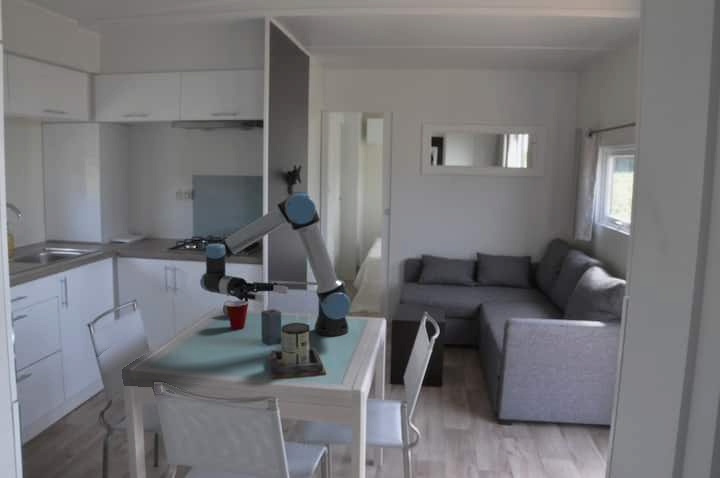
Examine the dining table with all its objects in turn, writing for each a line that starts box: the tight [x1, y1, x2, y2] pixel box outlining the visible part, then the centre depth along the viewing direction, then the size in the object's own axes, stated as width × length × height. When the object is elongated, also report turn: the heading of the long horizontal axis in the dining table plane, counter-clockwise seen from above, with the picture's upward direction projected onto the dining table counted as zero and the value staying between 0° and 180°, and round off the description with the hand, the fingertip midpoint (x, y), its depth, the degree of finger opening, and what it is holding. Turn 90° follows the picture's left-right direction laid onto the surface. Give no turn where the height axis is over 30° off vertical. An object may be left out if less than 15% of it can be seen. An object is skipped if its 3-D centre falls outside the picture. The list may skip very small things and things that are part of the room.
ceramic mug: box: [222, 299, 233, 317], centre depth 257 cm, size 11×8×8 cm
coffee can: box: [280, 322, 311, 366], centre depth 192 cm, size 10×10×14 cm
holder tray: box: [268, 347, 327, 380], centre depth 193 cm, size 19×19×4 cm
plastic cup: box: [224, 299, 250, 331], centre depth 237 cm, size 11×11×12 cm
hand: (275, 294), depth 195 cm, fingers open, 13 cm apart
